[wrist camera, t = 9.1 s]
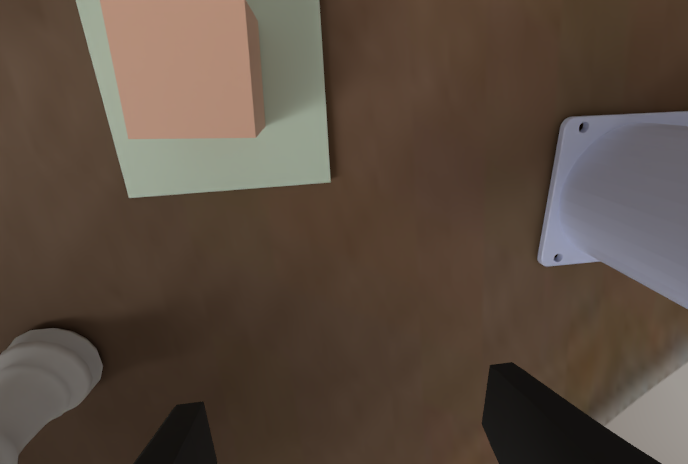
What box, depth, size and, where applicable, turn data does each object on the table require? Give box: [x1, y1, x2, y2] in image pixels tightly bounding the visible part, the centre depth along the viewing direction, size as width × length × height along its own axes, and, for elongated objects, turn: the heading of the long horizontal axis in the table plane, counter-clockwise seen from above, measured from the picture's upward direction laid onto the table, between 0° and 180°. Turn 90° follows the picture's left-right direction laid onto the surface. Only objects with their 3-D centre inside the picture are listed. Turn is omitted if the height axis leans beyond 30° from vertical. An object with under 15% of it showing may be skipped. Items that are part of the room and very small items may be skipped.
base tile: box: [76, 0, 331, 198], centre depth 16 cm, size 9×9×1 cm
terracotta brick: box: [100, 0, 266, 139], centre depth 13 cm, size 4×4×4 cm
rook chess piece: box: [0, 328, 103, 464], centre depth 15 cm, size 4×4×8 cm
